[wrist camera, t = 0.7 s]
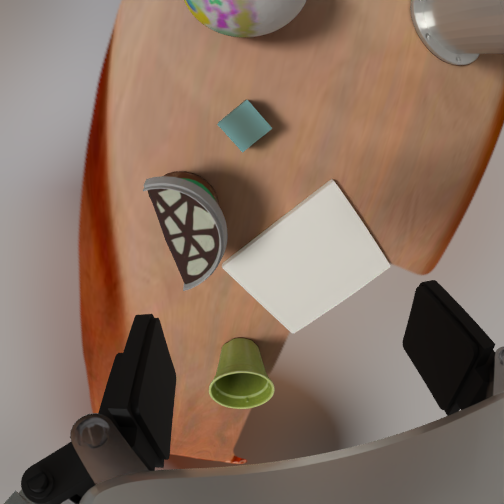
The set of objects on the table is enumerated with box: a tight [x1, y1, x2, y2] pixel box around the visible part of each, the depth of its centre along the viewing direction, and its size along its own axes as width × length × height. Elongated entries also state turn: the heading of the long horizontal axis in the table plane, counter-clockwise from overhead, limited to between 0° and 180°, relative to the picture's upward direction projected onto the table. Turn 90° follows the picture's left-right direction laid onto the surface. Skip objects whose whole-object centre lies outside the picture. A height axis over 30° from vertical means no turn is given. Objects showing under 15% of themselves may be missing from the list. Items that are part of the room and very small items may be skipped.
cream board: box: [222, 179, 391, 334], centre depth 43 cm, size 18×16×1 cm
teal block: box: [217, 100, 272, 152], centre depth 33 cm, size 4×4×4 cm
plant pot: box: [209, 338, 274, 409], centre depth 47 cm, size 9×9×9 cm
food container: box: [143, 172, 227, 291], centre depth 34 cm, size 12×6×10 cm, turn 14°
